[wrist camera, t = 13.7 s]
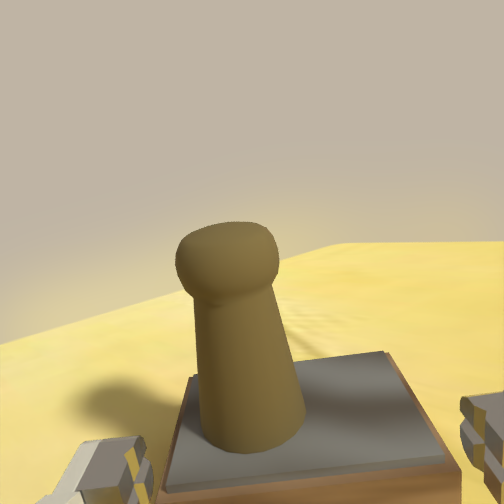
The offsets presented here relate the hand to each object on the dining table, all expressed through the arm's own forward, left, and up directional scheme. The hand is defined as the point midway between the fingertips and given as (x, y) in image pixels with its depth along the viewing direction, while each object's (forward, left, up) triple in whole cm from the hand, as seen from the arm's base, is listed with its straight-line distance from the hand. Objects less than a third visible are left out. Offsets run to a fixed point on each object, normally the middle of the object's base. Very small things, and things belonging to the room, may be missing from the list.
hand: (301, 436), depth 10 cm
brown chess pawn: (-8, +7, -8) cm, 13 cm away
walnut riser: (-7, +9, -12) cm, 16 cm away
